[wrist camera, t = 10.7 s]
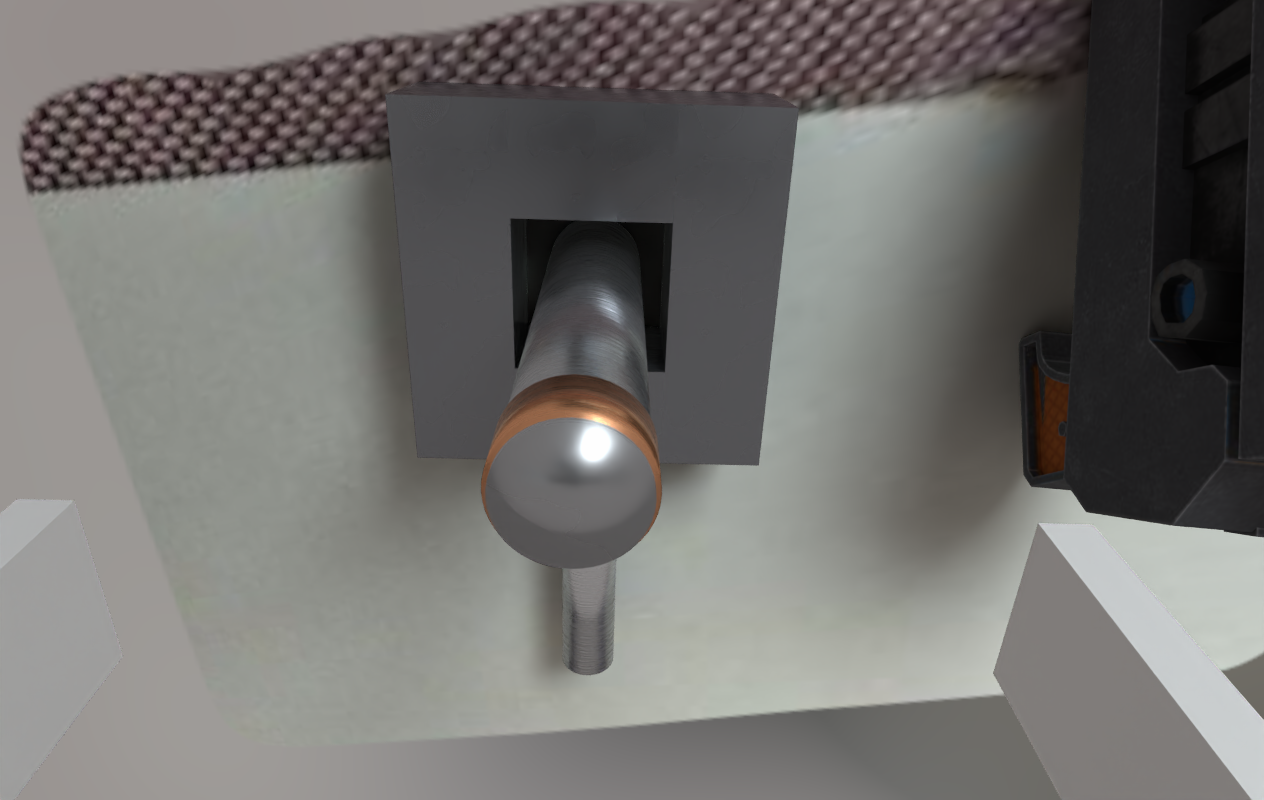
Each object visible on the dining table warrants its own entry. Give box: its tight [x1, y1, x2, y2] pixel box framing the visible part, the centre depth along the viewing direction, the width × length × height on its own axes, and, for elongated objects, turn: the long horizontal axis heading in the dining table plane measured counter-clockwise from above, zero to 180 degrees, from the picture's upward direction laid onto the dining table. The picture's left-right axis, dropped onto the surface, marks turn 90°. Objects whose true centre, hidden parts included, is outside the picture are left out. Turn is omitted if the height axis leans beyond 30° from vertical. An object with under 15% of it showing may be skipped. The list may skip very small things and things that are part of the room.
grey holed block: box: [385, 82, 799, 675], centre depth 28 cm, size 21×11×4 cm, turn 178°
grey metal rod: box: [481, 220, 662, 569], centre depth 21 cm, size 3×3×15 cm
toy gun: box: [1019, 0, 1264, 537], centre depth 23 cm, size 6×19×15 cm, turn 174°
